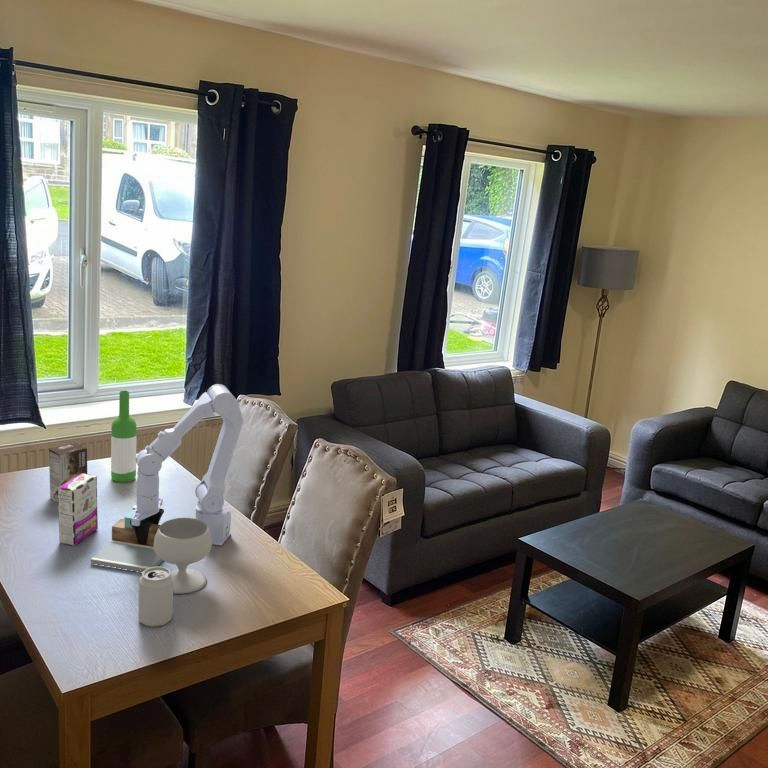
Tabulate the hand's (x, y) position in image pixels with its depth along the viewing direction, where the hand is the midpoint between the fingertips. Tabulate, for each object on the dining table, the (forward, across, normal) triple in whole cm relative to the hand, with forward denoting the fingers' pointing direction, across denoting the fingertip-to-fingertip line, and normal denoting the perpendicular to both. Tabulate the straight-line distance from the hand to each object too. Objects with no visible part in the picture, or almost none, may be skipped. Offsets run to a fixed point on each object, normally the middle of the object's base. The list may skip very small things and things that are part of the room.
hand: (147, 539), depth 202 cm
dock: (+1, +10, 0) cm, 10 cm away
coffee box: (+2, -20, -35) cm, 40 cm away
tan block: (+2, 0, -2) cm, 2 cm away
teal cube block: (-4, 0, -4) cm, 5 cm away
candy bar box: (+2, +2, -19) cm, 19 cm away
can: (+2, +33, +18) cm, 38 cm away
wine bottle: (+2, -39, -27) cm, 47 cm away
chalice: (+2, +16, +17) cm, 23 cm away
